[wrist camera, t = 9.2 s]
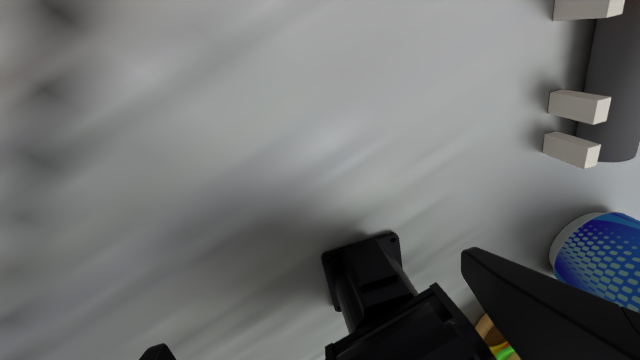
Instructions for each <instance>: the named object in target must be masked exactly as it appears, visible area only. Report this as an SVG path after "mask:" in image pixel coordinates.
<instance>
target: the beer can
mask: <svg viewBox="0 0 640 360" xmlns="http://www.w3.org/2000/svg"><path fill="white" fill-rule="evenodd" d="M549 260H550V263H551V265H552V266H553V271H554V275H555V277H556V278H557V279H558V280H559V281H562V282H564V283H567V284H569V285H572V286H574V287H577V288H579V289H581V290H584V291H586V292H589V293H591V294H594V295H596V296H599V297H601V298H604V299H606V300H609V301H611V302H614V303H616V304H618V305H619V306H620V307H621V306H624V307H626V308H629V309H631V310H634V311H636V312H639V313H640V221H638V220H636V219H634V218H632V217H629V216H627V215H625V214H622V213H618V212H608V213H599V212H595V213H589V214H585V215H583V216H580V217H578V218H577V219H575V220H573V221H572V222H570V223H569V224H568V225H567V226H566V227H564V228H563V229H562V230H561V232H560V233H559V234H558V235H557V237H556V238H555V240H554V241H553V243H552V245H551V248H550V252H549Z"/></svg>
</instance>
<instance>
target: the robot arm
mask: <svg viewBox="0 0 640 360" xmlns="http://www.w3.org/2000/svg"><path fill="white" fill-rule="evenodd" d="M391 238H393V239H392V240H391ZM328 257H330V258H329V259H326V258H328ZM321 260H322V264H323V267H324V271H325V275H326V279H327V282H328V286H329V290H330V294H331V297H332V301H333V305H334V308H335V311H337V312H341V311H342V313H343V316H344V319H345V322H346V325H347V328H348V331H349V335H347V336H346V337H344V338H342V339H341V340H339V341H337V342H335V343H334V344H333V343H331V344H329V345H327V346H326V347H325V356H326V359H325V360H497V359H496V357H495V356H494V354H493V353H492V351H491V350H490V349H489V347H488V346H487V344H486V343H485V341H484V340H483V338H482V337H481V336H480V334H479V333H478V332H477V330H476V329H475V328H474V326H473V325H472V324H471V322H470V321H469V320H468V319H467V318H466V316H465V315H464V314H463V313H462V312H461V310H460V309H459V308H458V307H457V306H456V305H455V303H454V302H453V301H452V300H451V299H450V298H449V296H448V295H447V294H446V293H445V292H444V291H443V289H442V288H441V287H440V286H439V285H438V284H437V282H435V283H434V284H432V285H430V286H429V287H430V288H428V289H426V290H425V291H423V292H421V293H419V294H418V292H417V291H416V289H415V288H414V286H413V285H412V283H411V282H410V280H409V279H408V277H407V275H406V274H405V272H404V271H403V269H402V260H401V251H400V242H399V237H398V235H397V234H396V233H394V232H390V233H387V234H384V235H381V236H377V237H374V238H371V239H367V240H364V241H361V242H357V243H354V244H351V245H347V246H344V247H341V248H338V249H334V250H331V251H328V252H325V253H323V254H322V256H321ZM461 272H462V275H463V277H464V279H465V281H466V282H467V284H468V285H469V287H470V288H471V290H472V292H473V293H474V295H475V296H476V298H477V299H478V301H479V303H480V304H481V306H482V307H483V309H484V310H485V312H486V313H487V315H488V317H489V318H490V320H491V321H492V322H493V324H494V325H495V327H496V328H497V329H498V331H499V332H500V333H501V334H502V336H503V337H504V338H505V339H506V341H507V342H508V343H509V345H510V346H511V347H512V348H513V350H514V351H515V352H516V353H517V355H518V356H519V357H520V359H521V360H640V313H639V312H636V311H634V310H631V309H629V308H626V307H624V306H621V307H620V306H619V305H618V304H616V303H614V302H611V301H609V300H606V299H604V298H601V297H599V296H596V295H594V294H591V293H589V292H586V291H584V290H581V289H579V288H577V287H574V286H572V285H569V284H567V283H564V282H562V281H559V280H557V279H554V278H552V277H549V276H547V275H544V274H542V273H539V272H537V271H535V270H532V269H530V268H527V267H525V266H522V265H520V264H517V263H515V262H512V261H510V260H507V259H505V258H502V257H500V256H497V255H495V254H492V253H490V252H488V251H485V250H483V249H480V248H478V247H471V248H468V249H465V250H463V251H462V253H461ZM139 360H176V358H175V357H174V355H173V354H172V352H171V351H170V349H169V348H168V346H167V345H166V344H164V343H162V344H158V345H155V346H152V347H150V348H148V349H147V350H146V351H145V352H144V354H143V355H142V356H141V358H140V359H139Z"/></svg>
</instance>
